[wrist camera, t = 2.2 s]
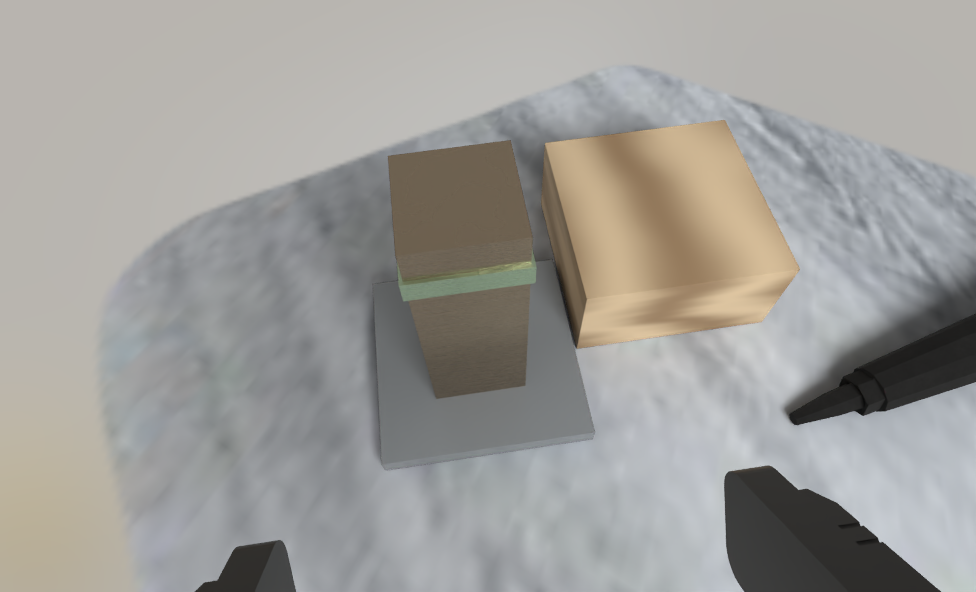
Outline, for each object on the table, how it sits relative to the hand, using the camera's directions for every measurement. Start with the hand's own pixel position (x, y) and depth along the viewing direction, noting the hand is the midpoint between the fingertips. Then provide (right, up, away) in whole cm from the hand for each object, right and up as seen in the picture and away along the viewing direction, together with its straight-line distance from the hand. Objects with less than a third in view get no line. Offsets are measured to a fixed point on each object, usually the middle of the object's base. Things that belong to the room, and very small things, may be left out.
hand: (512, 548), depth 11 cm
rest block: (+8, +7, +24) cm, 26 cm away
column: (-1, +2, +20) cm, 20 cm away
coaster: (-1, +1, +20) cm, 21 cm away
